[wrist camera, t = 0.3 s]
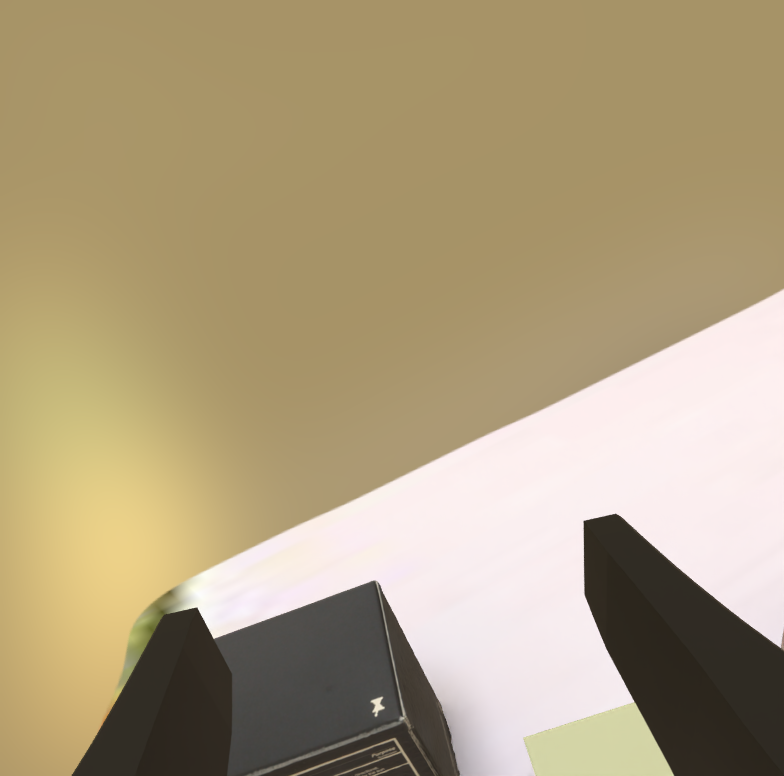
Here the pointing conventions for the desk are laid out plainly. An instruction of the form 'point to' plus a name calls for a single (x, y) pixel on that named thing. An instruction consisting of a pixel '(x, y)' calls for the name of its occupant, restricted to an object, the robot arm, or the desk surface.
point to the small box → (333, 694)
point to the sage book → (599, 747)
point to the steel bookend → (783, 645)
